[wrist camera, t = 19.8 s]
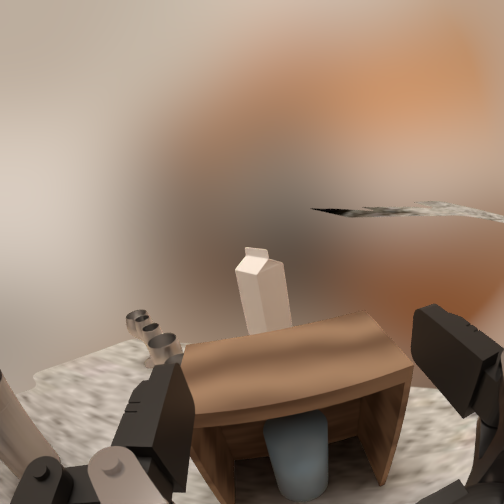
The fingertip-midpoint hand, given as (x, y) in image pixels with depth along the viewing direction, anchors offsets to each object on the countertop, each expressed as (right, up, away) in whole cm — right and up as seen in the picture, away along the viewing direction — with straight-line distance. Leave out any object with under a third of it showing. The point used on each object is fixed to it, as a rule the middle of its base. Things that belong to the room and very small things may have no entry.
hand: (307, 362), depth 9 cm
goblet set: (-17, -22, +41) cm, 50 cm away
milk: (+3, -17, +46) cm, 49 cm away
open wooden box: (+4, -24, +19) cm, 31 cm away
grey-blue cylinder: (+4, -24, +18) cm, 30 cm away
